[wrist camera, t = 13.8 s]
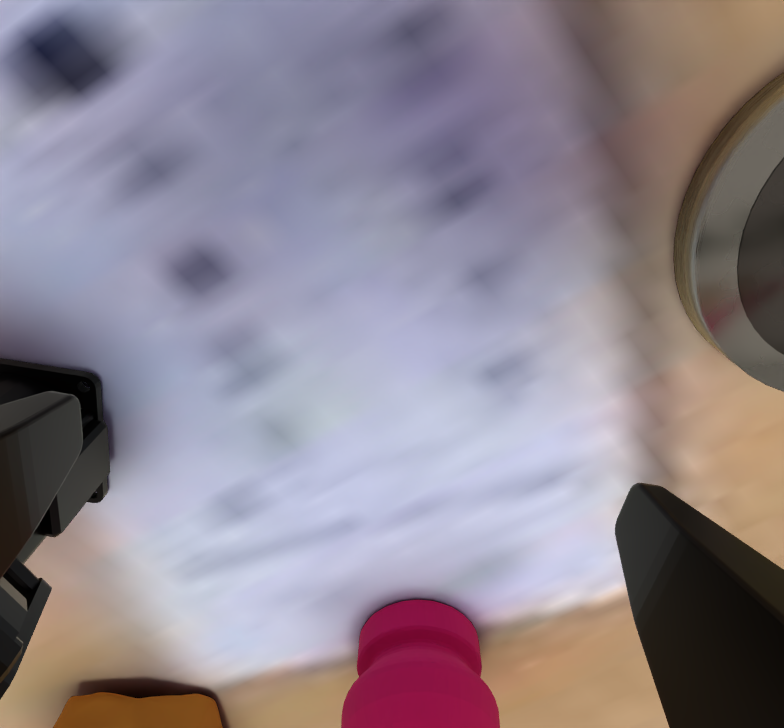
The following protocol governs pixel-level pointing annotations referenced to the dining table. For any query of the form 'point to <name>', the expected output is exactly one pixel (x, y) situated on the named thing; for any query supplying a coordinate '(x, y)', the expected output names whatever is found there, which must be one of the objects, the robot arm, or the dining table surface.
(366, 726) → the pepper mill
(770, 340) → the dark grey bowl
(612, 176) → the dining table surface
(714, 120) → the dining table surface
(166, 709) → the coffee package
